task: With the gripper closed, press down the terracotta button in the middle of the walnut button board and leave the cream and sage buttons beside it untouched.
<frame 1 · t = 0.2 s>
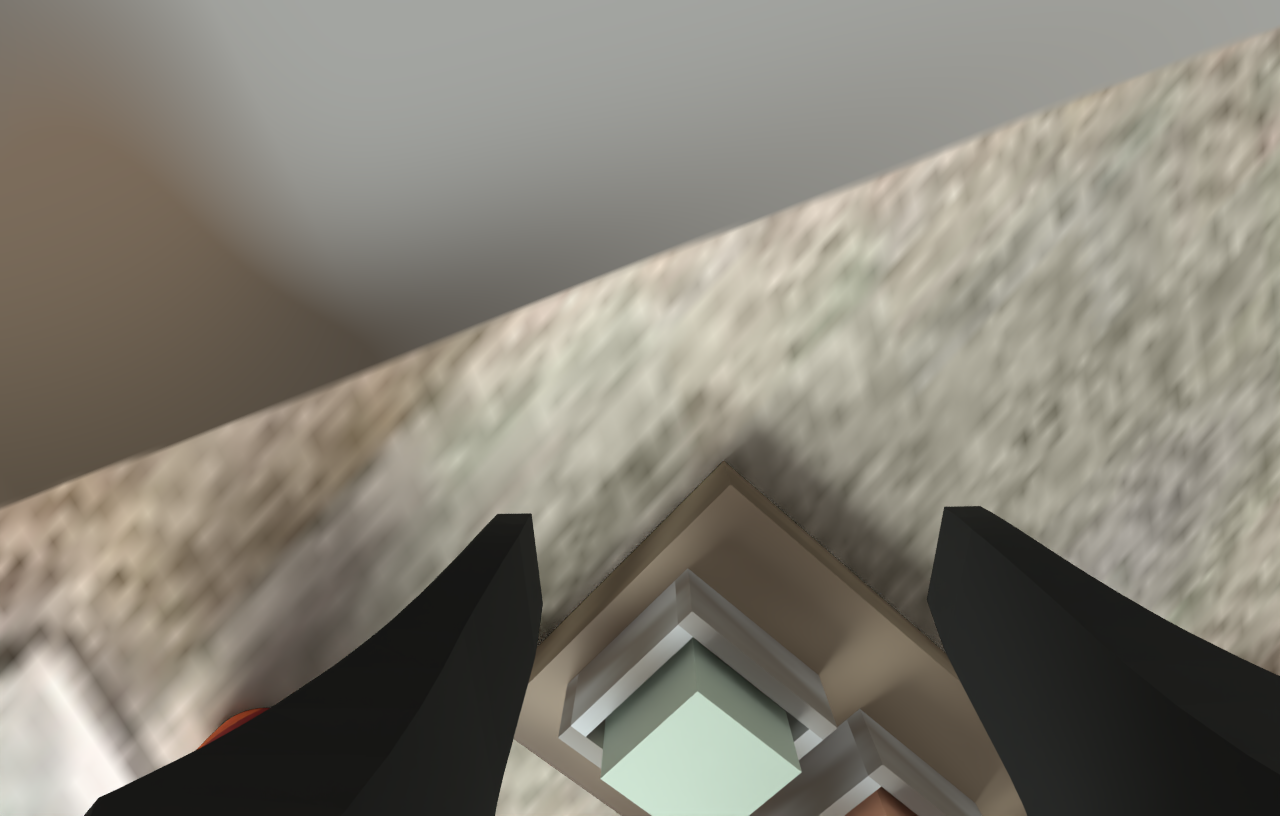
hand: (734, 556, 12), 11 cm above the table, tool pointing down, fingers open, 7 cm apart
button board: (840, 762, 26), on the table
sage button: (697, 743, 20), point 5 cm above the table, slide at 0.0 cm
paper cup: (283, 762, 27), on the table
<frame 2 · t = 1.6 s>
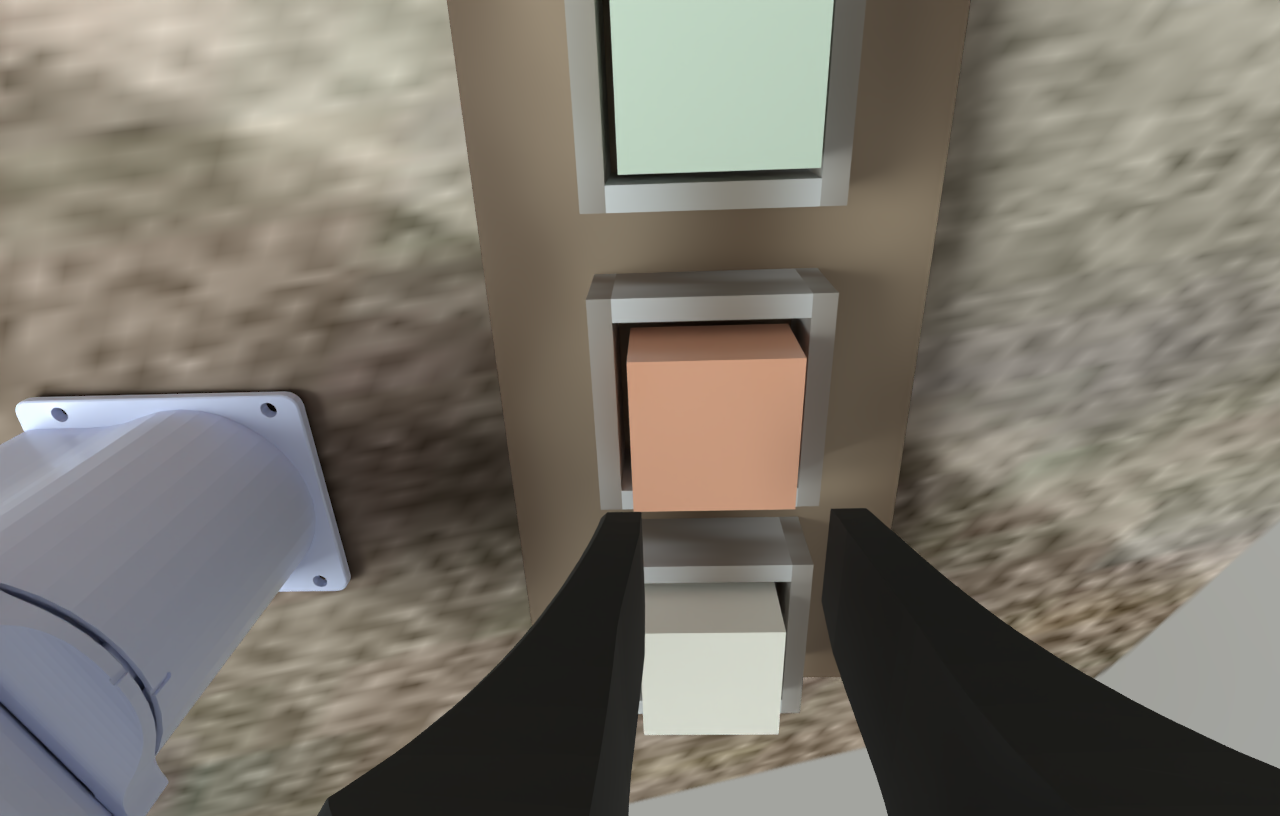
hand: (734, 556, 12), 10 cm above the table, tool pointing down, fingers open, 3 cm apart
button board: (700, 349, 21), on the table
terracotta button: (711, 416, 17), point 5 cm above the table, slide at 0.0 cm
sage button: (715, 59, 14), point 5 cm above the table, slide at 0.0 cm
cream button: (708, 654, 20), point 5 cm above the table, slide at 0.0 cm
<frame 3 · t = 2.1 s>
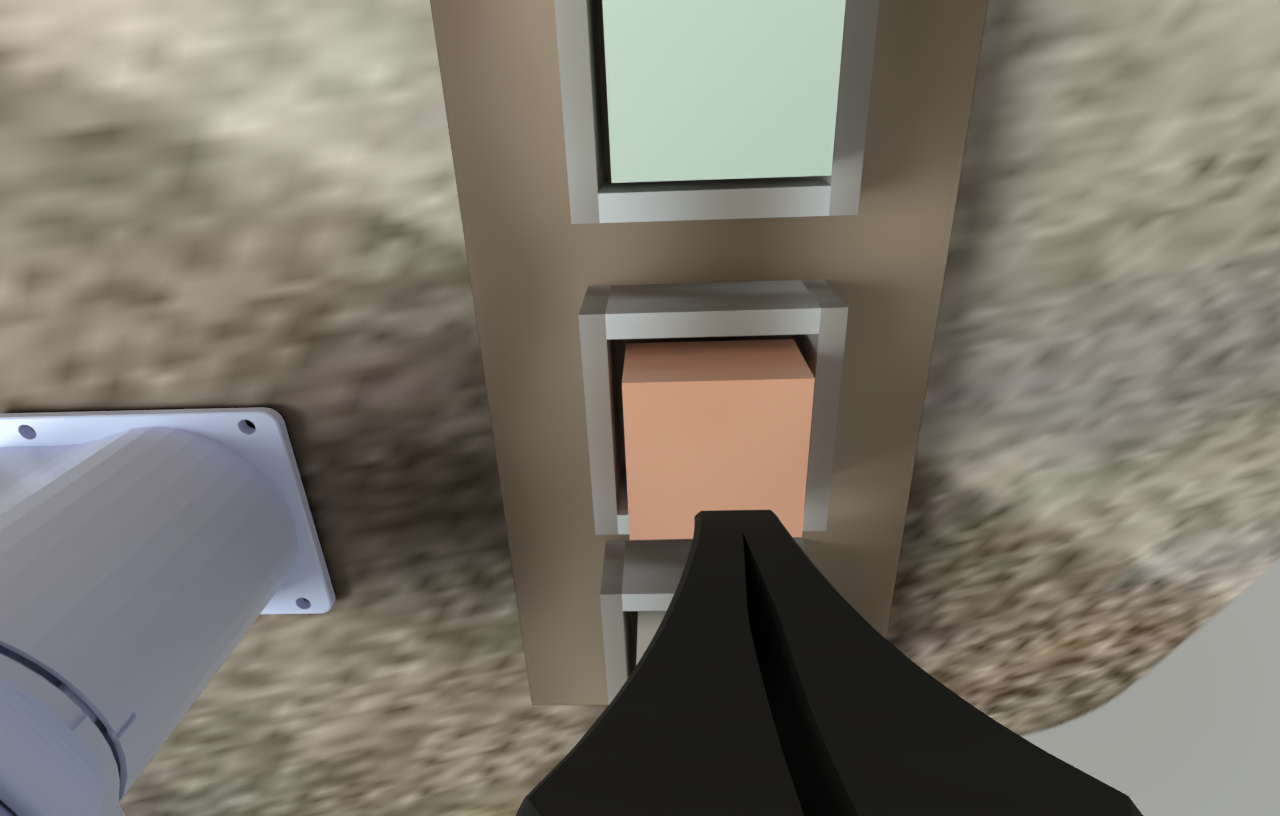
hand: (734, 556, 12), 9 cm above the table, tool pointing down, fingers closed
button board: (700, 363, 20), on the table
terracotta button: (712, 438, 16), point 5 cm above the table, slide at 0.0 cm
sage button: (717, 58, 13), point 5 cm above the table, slide at 0.0 cm
cream button: (709, 684, 19), point 5 cm above the table, slide at 0.0 cm
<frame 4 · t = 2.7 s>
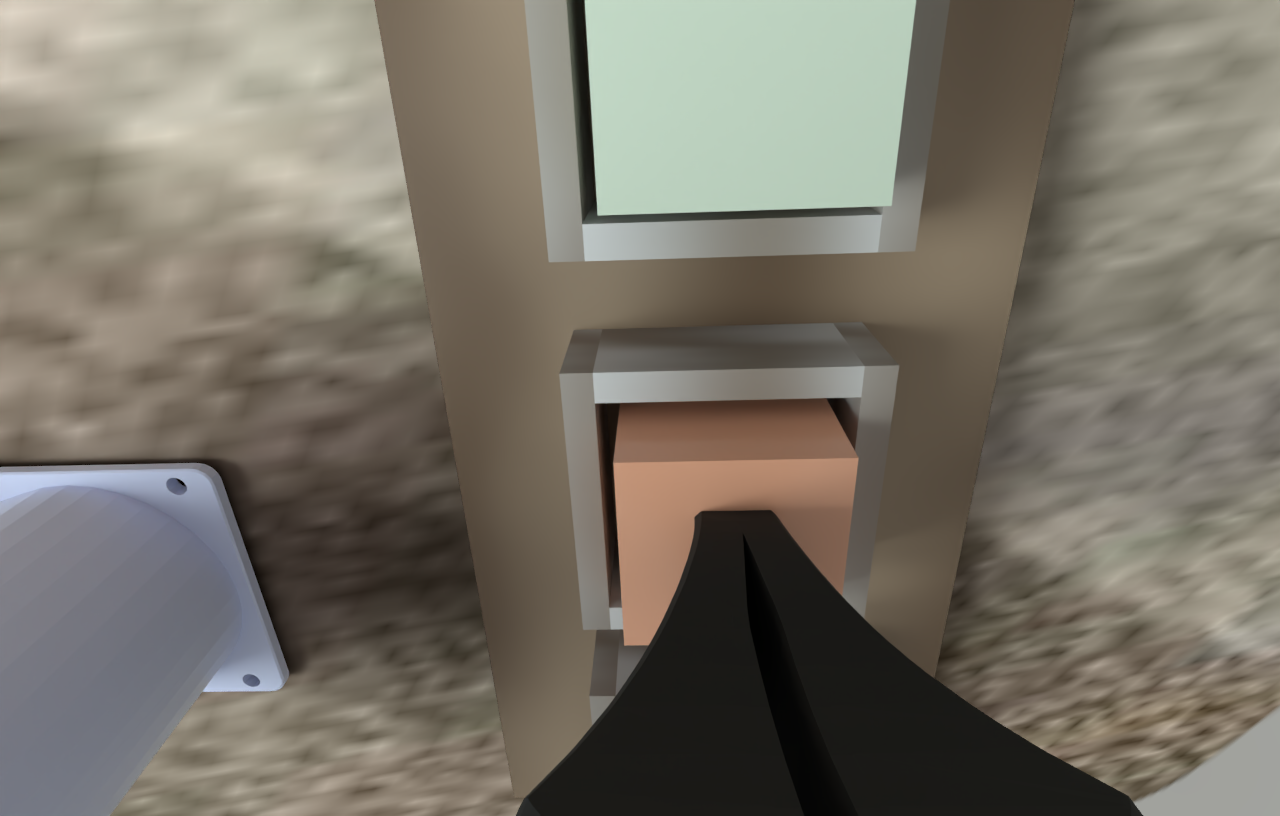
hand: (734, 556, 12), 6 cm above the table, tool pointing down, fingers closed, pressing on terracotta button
button board: (708, 413, 17), on the table
terracotta button: (726, 519, 13), point 5 cm above the table, slide at 0.1 cm, touching gripper
sage button: (737, 49, 10), point 5 cm above the table, slide at 0.0 cm
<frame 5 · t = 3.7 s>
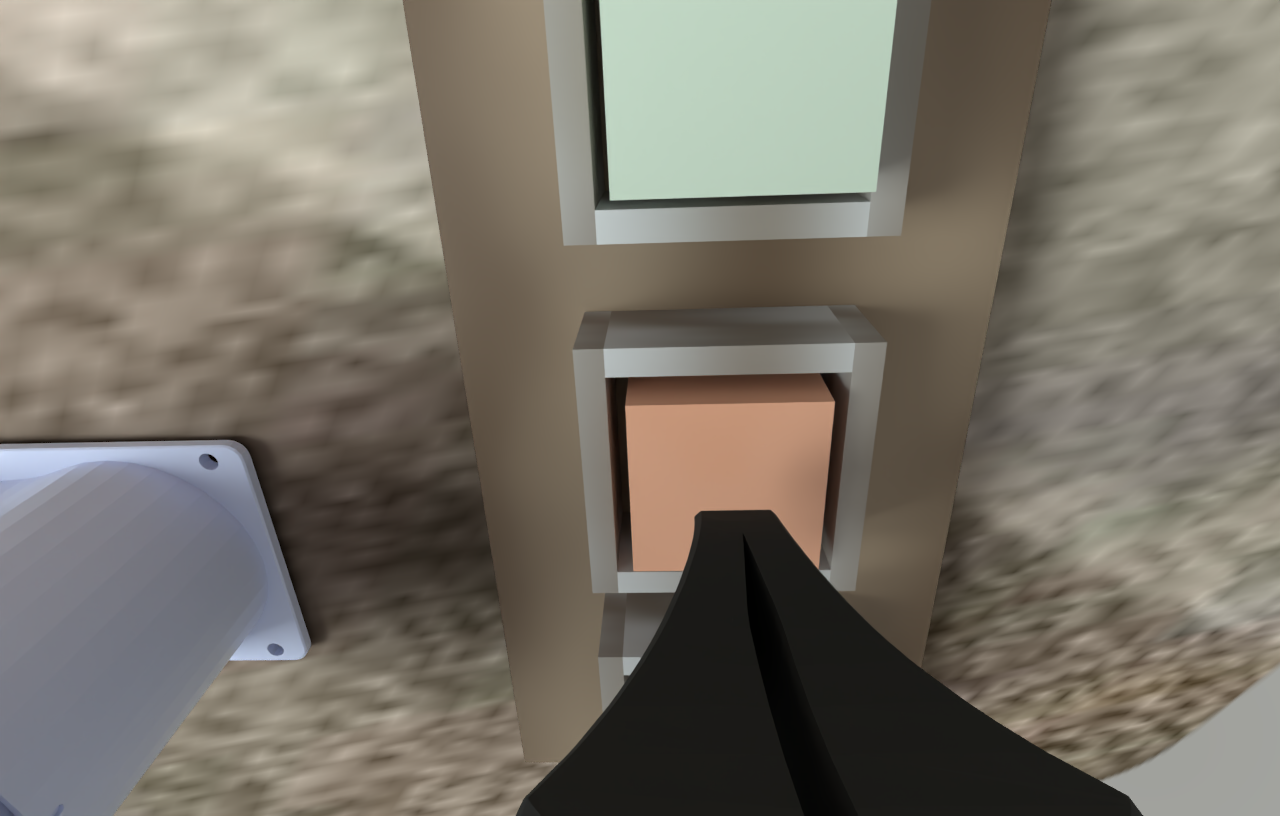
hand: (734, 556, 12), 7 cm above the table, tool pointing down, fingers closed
button board: (711, 393, 18), on the table
terracotta button: (722, 462, 15), point 4 cm above the table, slide at 1.1 cm
sage button: (737, 50, 10), point 5 cm above the table, slide at 0.0 cm
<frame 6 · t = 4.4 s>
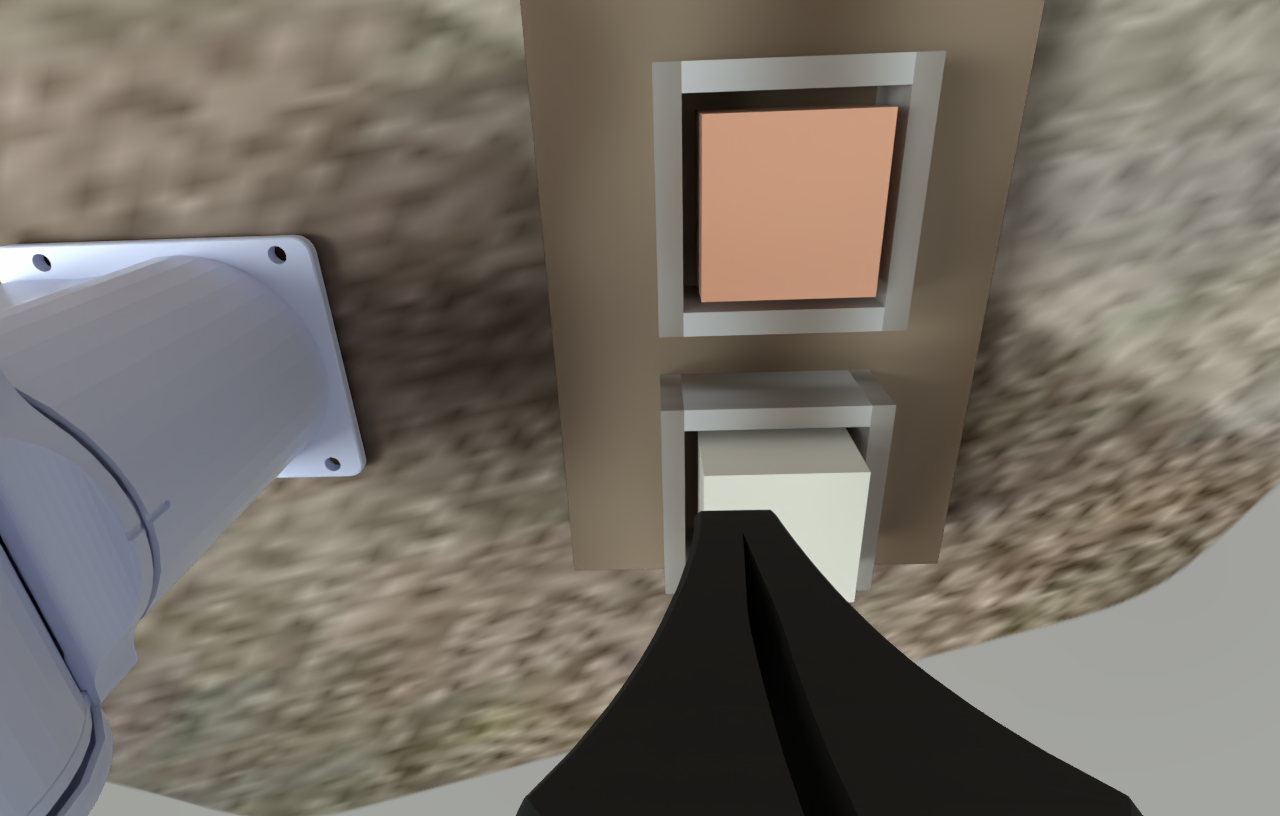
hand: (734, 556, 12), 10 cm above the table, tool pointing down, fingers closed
button board: (760, 181, 19), on the table
terracotta button: (783, 201, 16), point 4 cm above the table, slide at 1.1 cm
cream button: (774, 514, 18), point 5 cm above the table, slide at 0.0 cm
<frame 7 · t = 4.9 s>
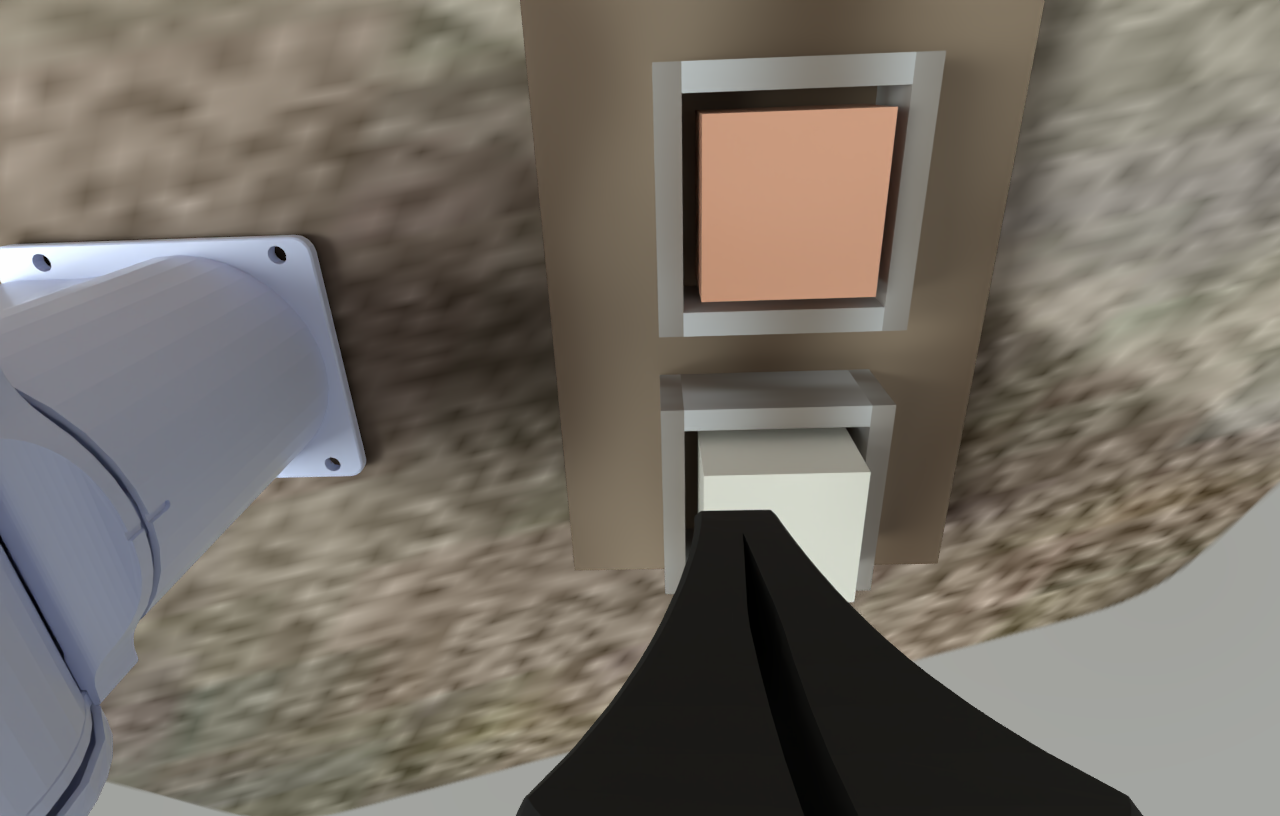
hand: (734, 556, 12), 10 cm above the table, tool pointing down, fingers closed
button board: (760, 181, 19), on the table
terracotta button: (783, 201, 16), point 4 cm above the table, slide at 1.1 cm
cream button: (774, 514, 18), point 5 cm above the table, slide at 0.0 cm
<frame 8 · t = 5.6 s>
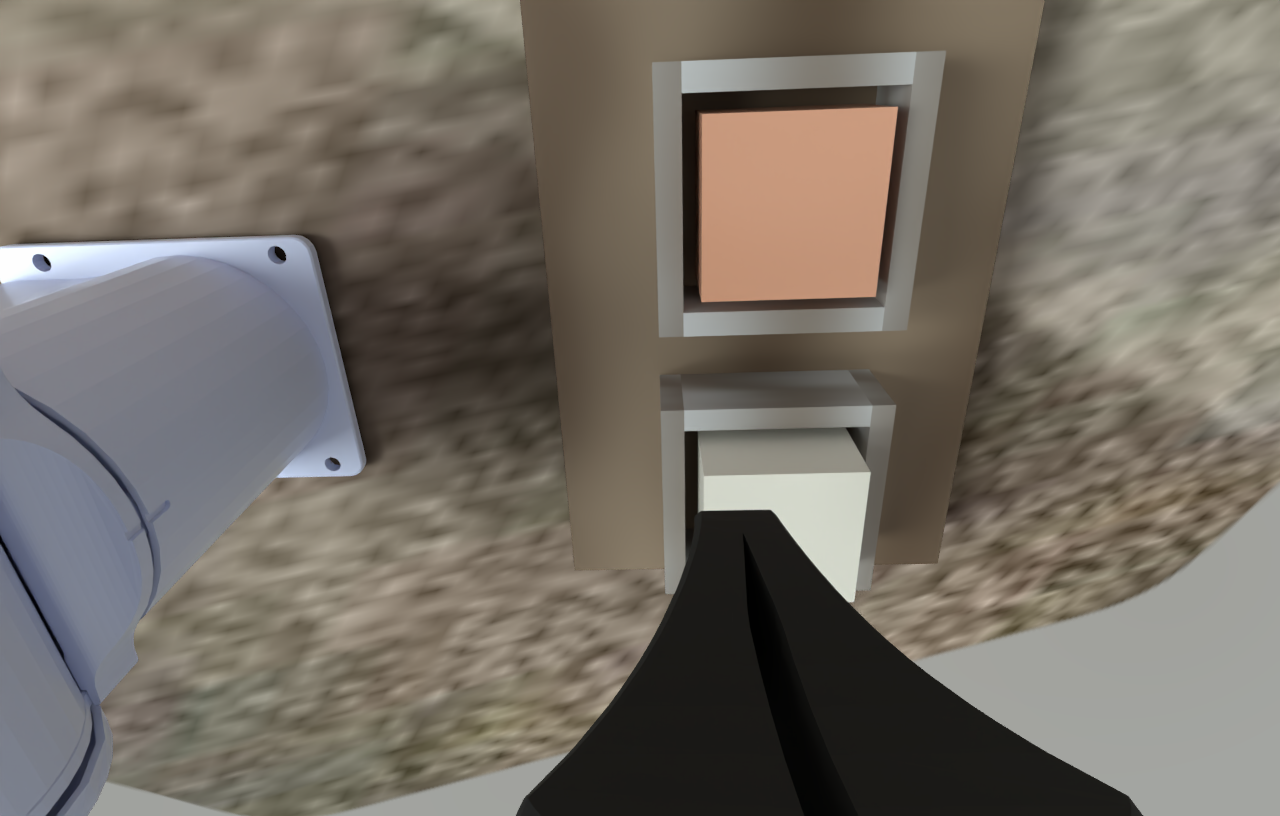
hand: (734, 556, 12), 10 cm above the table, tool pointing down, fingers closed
button board: (760, 181, 19), on the table
terracotta button: (783, 201, 16), point 4 cm above the table, slide at 1.1 cm
cream button: (774, 514, 18), point 5 cm above the table, slide at 0.0 cm
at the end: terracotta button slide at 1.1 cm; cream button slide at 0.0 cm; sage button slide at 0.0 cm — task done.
